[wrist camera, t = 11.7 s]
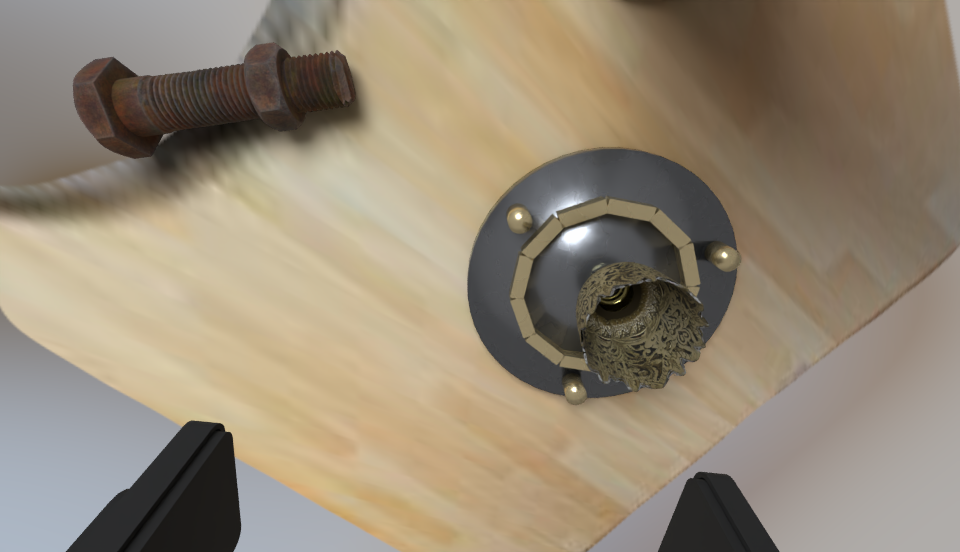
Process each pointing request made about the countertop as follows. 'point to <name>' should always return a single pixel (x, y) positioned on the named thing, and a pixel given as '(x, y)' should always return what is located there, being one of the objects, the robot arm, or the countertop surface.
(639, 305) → the dark hollow rounded piece
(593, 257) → the carrier plate
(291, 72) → the bolt
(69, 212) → the countertop surface
